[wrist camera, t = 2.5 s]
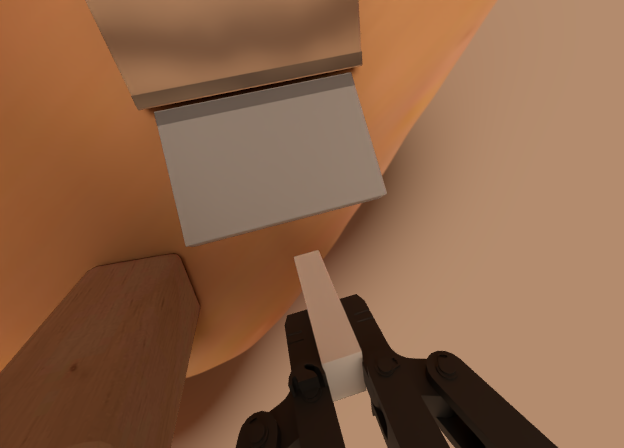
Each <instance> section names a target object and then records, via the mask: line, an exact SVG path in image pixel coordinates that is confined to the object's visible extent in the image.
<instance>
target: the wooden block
mask: <svg viewBox="0 0 624 448" xmlns="http://www.w3.org/2000/svg"><path fill="white" fill-rule="evenodd" d="M199 311H200V305H199V303H198V300H197V298H196V296H195V293H194V291H193V288H192V286H191V283H190V281H189V278H188V276H187V273H186V271H185V268H184V266H183V263H182V261H181V258H180V257H179V256H178V255H177V254H167V255H161V256H155V257H149V258H143V259H137V260H132V261H126V262H120V263H114V264H108V265H102V266H97V267H95V268H92V269H91V270H89V271H87V272H86V274H85V275H84V276H83V277H82V278H81V279H80V281H79V282H78V283H77V284H76V285H75V286H74V288H73V289H72V290H71V291H70V292H69V293H68V294H67V296H66V297H65V298H64V299H63V300H62V301H61V303H60V304H59V305H58V306H57V307H56V308H55V310H54V311H53V312H52V313H51V314H50V315H49V317H48V318H47V319H46V320H45V321H44V322H43V324H42V325H41V326H40V327H39V328H38V329H37V331H36V332H35V333H34V334H33V335H32V336H31V337H30V339H29V340H28V341H27V342H26V343H25V344H24V346H23V347H22V348H21V349H20V350H19V351H18V353H17V354H16V355H15V356H14V357H13V358H12V360H11V361H10V362H9V363H8V364H7V365H6V367H5V368H4V369H3V370H2V371H1V372H0V448H171V443H172V438H173V434H174V429H175V424H176V420H177V415H178V410H179V405H180V401H181V396H182V391H183V387H184V382H185V377H186V372H187V368H188V363H189V358H190V354H191V349H192V344H193V339H194V335H195V330H196V325H197V321H198V316H199Z"/></svg>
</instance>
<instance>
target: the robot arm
mask: <svg viewBox="0 0 624 448" xmlns="http://www.w3.org/2000/svg"><path fill="white" fill-rule="evenodd" d="M294 260H295V264H296V268H297V272H298V276H299V280H300V283H301V287H302V291H303V295H304V299H305V302H306V306H307V310H304V311H300V312H297V313H294V314H291V315H288V316H287V319H286V322H285V331H286V337H287V344H288V351H289V358H290V365H291V374H290V376H289V383H288V386H289V388H290V392H289V394H288V396H287V397H286V399H284V400H283V401H282V402H281V403H280V404H279V405H278V406H276V407H275V408H274V409H272V410H271V411H270V412H264V411H260V412H257V413H254V414H253V415H251V416H250V417H249V418H248V419H247V420H246V421H245V423H244V424H243V425H242V427H241V430H240V433H239V436H238V440H237V445H236V448H345V444H344V441H343V437H342V434H341V429H340V426H339V422H338V419H337V415H336V411H335V407H334V403H333V402H334V401H337V400H340V399H343V398H346V397H349V396H352V395H355V394H358V393H360V392H364V391H366V388H367V390H368V393H369V395H370V398H371V407H372V413H373V416H376V418H377V421H378V423H379V426H380V429H381V431H382V434H383V436H384V439H385V442H386V444H387V447H388V448H450V447H449V445H448V443H447V442H446V440H445V438H444V436H443V434H442V433H441V431H442V432H443V433H444V435H445V436H446V437H447V438H448V440H449V441H450V442H451V443H452V445H453V446H454V447H455V448H558V447H557V446H556V445H555V444H553V443H552V442H551V441H550V440H549V439H548V438H547V437H546V436H545V435H543V434H542V433H541V432H540V431H539V430H538V429H537V428H536V427H535V426H534V425H532V424H531V423H530V422H529V421H528V420H527V419H526V418H525V417H524V416H523V415H521V414H520V413H519V412H518V411H517V410H516V409H515V408H514V407H513V406H511V405H510V404H509V403H508V402H507V401H506V400H505V399H504V398H503V397H502V396H500V395H499V394H498V393H497V392H496V391H495V390H494V389H493V388H491V387H490V386H489V385H488V384H487V383H486V382H485V381H484V380H483V379H482V378H481V377H479V376H478V375H477V374H476V373H475V372H474V371H473V370H471V368H469V367H468V366H467V365H466V364H465V363H464V362H463V361H462V360H461V359H459V358H458V357H457V356H455V355H454V354H452V353H449V352H446V351H436V352H434V353H431V354H430V355H429V357H428V358H427V359H413V358H406V357H403V356H400V355H398V354H397V353H395V352H394V351H393V350H392V349H391V348H390V346H389V345H388V343H387V341H386V339H385V338H384V336H383V334H382V332H381V330H380V328H379V327H378V325H377V323H376V321H375V319H374V318H373V316H372V314H371V312H370V311H369V308H368V306H367V304H366V303H365V301H364V300H363V299H362V298H361V297H359V296H358V295H357V294H355V295H352V296H349V297H345V298H342V299H339V297H338V295H337V292H336V290H335V288H334V285H333V283H332V281H331V279H330V276H329V274H328V271H327V269H326V267H325V264H324V262H323V260H322V257H321V255H320V252H319V250H316V251H313V252H309V253H306V254H302V255H298V256H295V257H294ZM439 428H440V429H439ZM440 430H441V431H440Z"/></svg>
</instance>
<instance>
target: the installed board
mask: <svg viewBox="0 0 624 448" xmlns="http://www.w3.org/2000/svg"><path fill="white" fill-rule="evenodd" d="M85 1H86V3H87V5H88V7H89V9H90V11H91V13H92V15H93V17H94V19H95V21H96V24H97V26H98V28H99V30H100V32H101V34H102V36H103V38H104V40H105V42H106V44H107V46H108V48H109V50H110V52H111V54H112V57H113V59H114V61H115V63H116V65H117V67H118V69H119V71H120V73H121V75H122V77H123V79H124V81H125V83H126V85H127V88H128V90H129V92H130V94H131V97H132V99H133V101H134V103H135V105H136V107H137V109H138V110H143V109H148V108H153V107H158V106H163V105H168V104H173V103H178V102H183V101H188V100H193V99H198V98H203V97H208V96H213V95H218V94H223V93H228V92H233V91H238V90H243V89H248V88H253V87H258V86H263V85H268V84H273V83H278V82H283V81H288V80H293V79H298V78H303V77H308V76H313V75H318V74H323V73H328V72H333V71H338V70H343V69H348V68H353V67H358V66H362V51H361V38H360V21H359V3H358V0H85Z"/></svg>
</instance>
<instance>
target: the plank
mask: <svg viewBox="0 0 624 448" xmlns="http://www.w3.org/2000/svg"><path fill="white" fill-rule="evenodd" d="M154 114H155V119H156V123H157V126H158V130H159V135H160V139H161V143H162V147H163V152H164V156H165V160H166V164H167V169H168V173H169V177H170V181H171V186H172V190H173V194H174V199H175V203H176V207H177V211H178V216H179V220H180V224H181V228H182V233H183V237H184V241H185V245H186V246H191V247H195V246H199V245H203V244H207V243H210V242H214V241H218V240H222V239H226V238H230V237H233V236H237V235H241V234H245V233H249V232H252V231H256V230H260V229H264V228H268V227H272V226H275V225H279V224H283V223H287V222H291V221H294V220H298V219H302V218H306V217H310V216H314V215H317V214H321V213H325V212H329V211H333V210H336V209H340V208H344V207H348V206H352V205H355V204H359V203H363V202H367V201H371V200H375V199H378V198H381V197H382V196H384V195H386V194H387V192H386V189H385V185H384V182H383V178H382V175H381V172H380V168H379V165H378V162H377V158H376V155H375V152H374V148H373V145H372V142H371V138H370V135H369V132H368V128H367V125H366V122H365V118H364V115H363V111H362V108H361V105H360V101H359V98H358V95H357V91H356V88H355V84H354V81H353V77H352V74H351V72H350V73H345V74H340V75H335V76H330V77H325V78H320V79H315V80H310V81H305V82H300V83H295V84H290V85H286V86H281V87H276V88H271V89H266V90H261V91H256V92H251V93H246V94H241V95H236V96H231V97H226V98H221V99H216V100H211V101H206V102H201V103H196V104H191V105H186V106H181V107H176V108H172V109H167V110H162V111H157V112H154Z"/></svg>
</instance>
